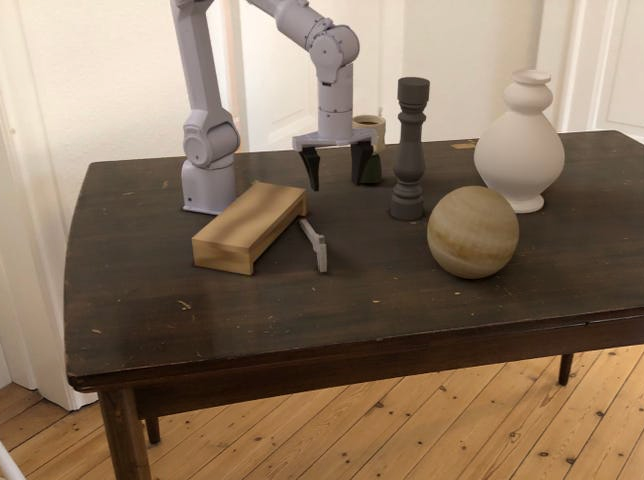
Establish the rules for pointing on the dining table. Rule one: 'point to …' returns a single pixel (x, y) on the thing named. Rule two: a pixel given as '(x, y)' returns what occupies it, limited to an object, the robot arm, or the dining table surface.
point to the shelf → (248, 227)
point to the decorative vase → (522, 144)
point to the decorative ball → (473, 232)
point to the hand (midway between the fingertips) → (335, 186)
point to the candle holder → (410, 149)
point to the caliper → (316, 244)
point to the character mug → (373, 165)
